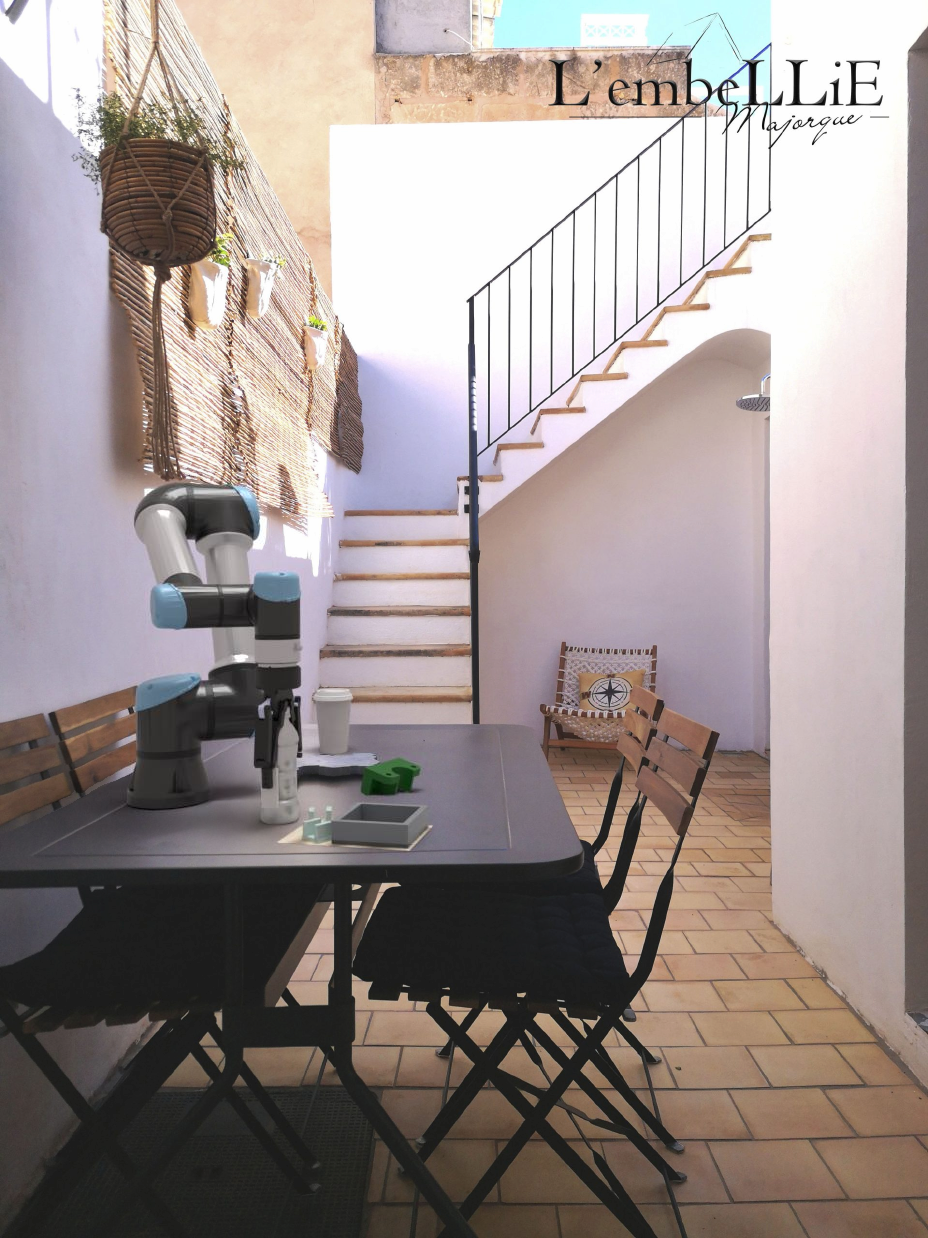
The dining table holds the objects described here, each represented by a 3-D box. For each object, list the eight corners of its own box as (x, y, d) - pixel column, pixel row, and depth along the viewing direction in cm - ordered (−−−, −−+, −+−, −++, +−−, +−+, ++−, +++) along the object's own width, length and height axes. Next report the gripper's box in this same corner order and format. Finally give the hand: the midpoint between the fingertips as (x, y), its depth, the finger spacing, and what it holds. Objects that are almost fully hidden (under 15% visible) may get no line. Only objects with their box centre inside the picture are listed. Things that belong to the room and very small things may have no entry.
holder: (331, 844, 134) (331, 821, 134) (357, 823, 146) (357, 802, 145) (408, 848, 131) (407, 825, 131) (428, 827, 143) (428, 805, 143)
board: (276, 849, 135) (276, 842, 135) (311, 825, 148) (311, 819, 148) (409, 857, 130) (409, 850, 130) (432, 831, 144) (432, 825, 144)
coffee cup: (311, 749, 218) (310, 688, 217) (349, 747, 221) (349, 687, 220) (316, 756, 209) (316, 693, 208) (356, 754, 212) (356, 691, 211)
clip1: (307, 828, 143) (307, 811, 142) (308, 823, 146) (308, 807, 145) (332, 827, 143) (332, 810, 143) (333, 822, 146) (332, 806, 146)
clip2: (301, 838, 137) (301, 821, 137) (317, 834, 139) (317, 817, 139) (318, 843, 134) (318, 826, 134) (333, 839, 136) (333, 822, 136)
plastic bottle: (282, 818, 153) (280, 703, 152) (308, 825, 148) (306, 706, 148) (251, 826, 148) (249, 707, 147) (277, 833, 143) (275, 710, 143)
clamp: (386, 821, 167) (384, 783, 163) (362, 809, 170) (358, 772, 166) (424, 786, 176) (422, 749, 172) (400, 776, 179) (398, 739, 175)
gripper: (273, 670, 137) (275, 818, 137) (321, 660, 156) (322, 789, 157) (229, 669, 138) (231, 816, 139) (281, 659, 158) (283, 788, 158)
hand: (279, 801), depth 148 cm, fingers open, 7 cm apart
